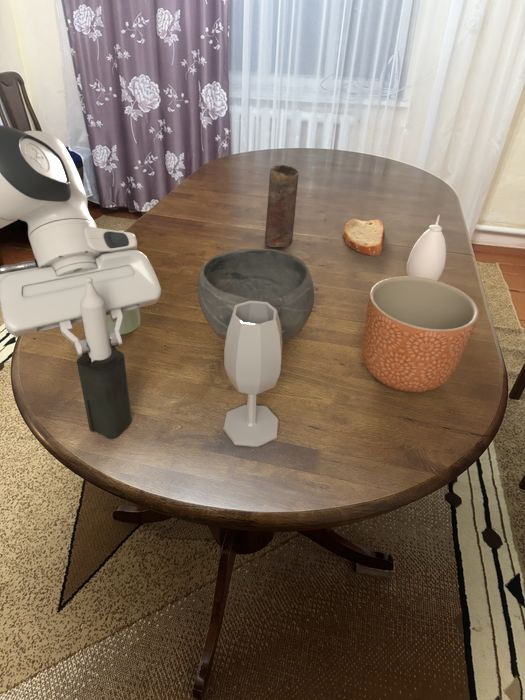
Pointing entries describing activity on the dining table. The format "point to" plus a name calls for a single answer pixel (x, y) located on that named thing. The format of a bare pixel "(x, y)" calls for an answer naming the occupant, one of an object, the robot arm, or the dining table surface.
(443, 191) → the dining table surface
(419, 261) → the sauce bottle
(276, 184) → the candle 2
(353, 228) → the slice of bread
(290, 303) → the bowl
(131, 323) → the holder
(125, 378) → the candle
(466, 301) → the planter
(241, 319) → the wineglass
